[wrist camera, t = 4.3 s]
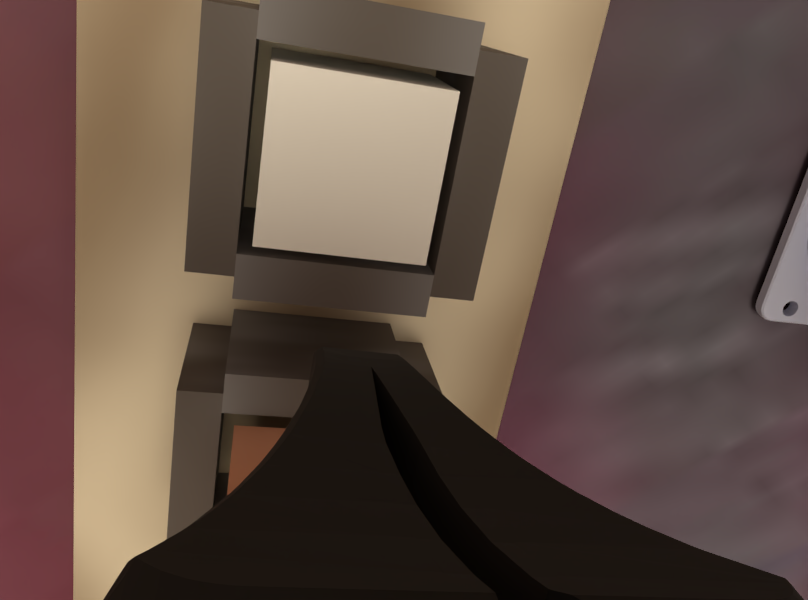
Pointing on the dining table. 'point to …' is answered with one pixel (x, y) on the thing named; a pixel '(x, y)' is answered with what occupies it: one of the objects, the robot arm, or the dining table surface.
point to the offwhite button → (351, 158)
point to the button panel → (282, 269)
